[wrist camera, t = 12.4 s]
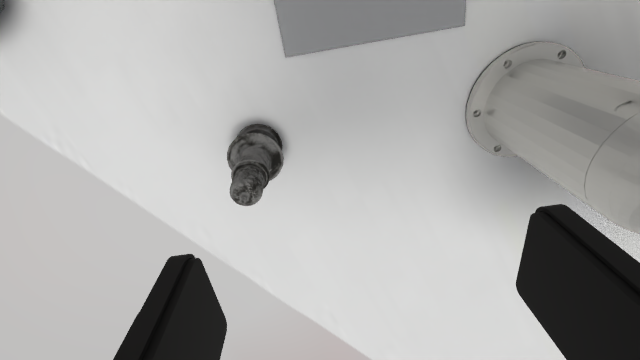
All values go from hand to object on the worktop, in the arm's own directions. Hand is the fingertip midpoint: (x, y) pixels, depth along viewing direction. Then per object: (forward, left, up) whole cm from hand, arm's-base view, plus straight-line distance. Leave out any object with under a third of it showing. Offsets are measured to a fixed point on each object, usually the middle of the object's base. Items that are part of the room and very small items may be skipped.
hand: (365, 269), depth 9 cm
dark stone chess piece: (+8, +7, -28) cm, 30 cm away
